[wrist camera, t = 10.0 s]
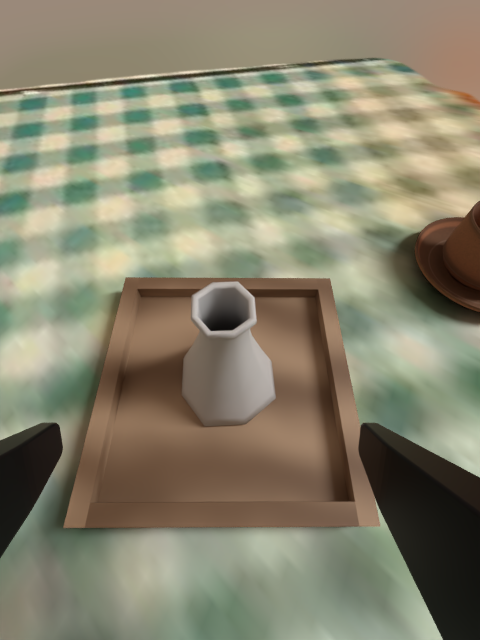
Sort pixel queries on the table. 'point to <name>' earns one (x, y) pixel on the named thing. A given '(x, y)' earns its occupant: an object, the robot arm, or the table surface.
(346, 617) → the table surface
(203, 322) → the flask
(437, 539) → the robot arm
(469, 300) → the cup and saucer
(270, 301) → the walnut tray
